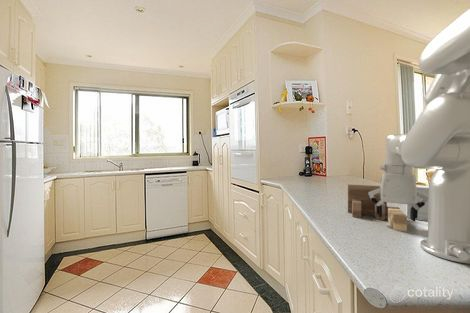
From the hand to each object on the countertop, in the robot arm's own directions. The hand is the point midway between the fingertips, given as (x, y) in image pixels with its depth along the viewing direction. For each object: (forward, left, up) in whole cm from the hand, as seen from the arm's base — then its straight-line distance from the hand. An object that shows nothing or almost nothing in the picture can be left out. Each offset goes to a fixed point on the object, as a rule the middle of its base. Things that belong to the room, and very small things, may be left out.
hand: (395, 218), depth 79 cm
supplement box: (+16, -10, -3) cm, 19 cm away
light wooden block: (+2, 0, -3) cm, 3 cm away
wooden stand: (+10, +8, -3) cm, 12 cm away
